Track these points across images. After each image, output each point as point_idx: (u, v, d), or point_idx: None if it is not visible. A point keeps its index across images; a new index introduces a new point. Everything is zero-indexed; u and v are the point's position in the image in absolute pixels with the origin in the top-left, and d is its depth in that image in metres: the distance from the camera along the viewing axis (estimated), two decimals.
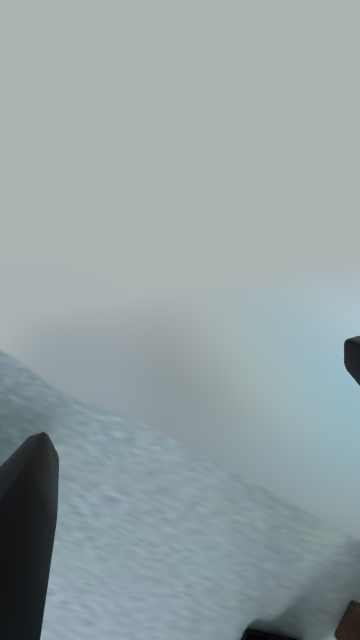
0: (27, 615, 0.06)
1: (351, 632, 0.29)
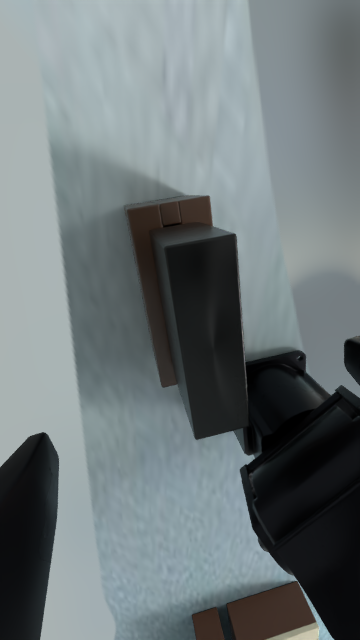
0: (27, 615, 0.06)
1: None
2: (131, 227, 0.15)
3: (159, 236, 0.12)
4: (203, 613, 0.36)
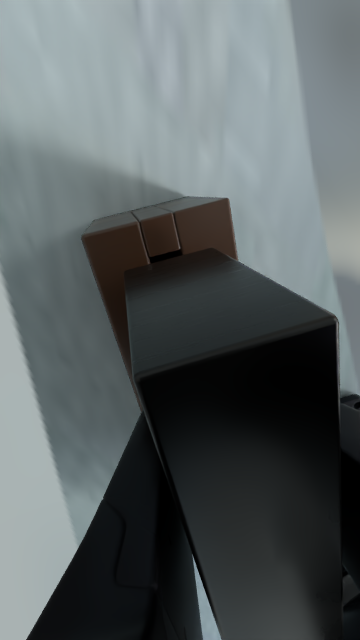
0: (189, 557, 0.06)
1: None
2: (93, 266, 0.08)
3: (134, 302, 0.05)
4: None
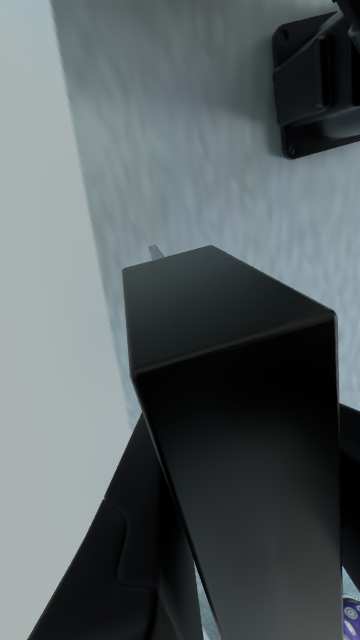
0: (189, 557, 0.06)
1: None
2: None
3: (132, 299, 0.05)
4: None
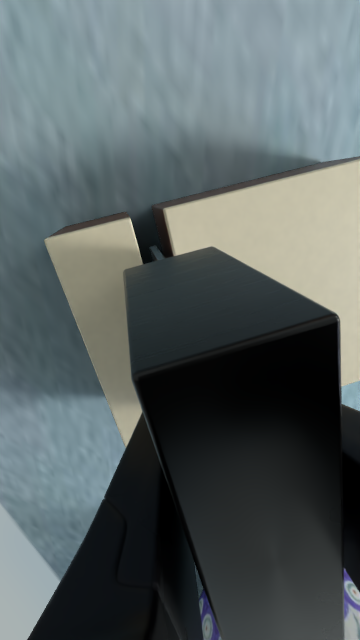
0: (189, 557, 0.06)
1: None
2: None
3: (133, 301, 0.05)
4: (92, 220, 0.14)
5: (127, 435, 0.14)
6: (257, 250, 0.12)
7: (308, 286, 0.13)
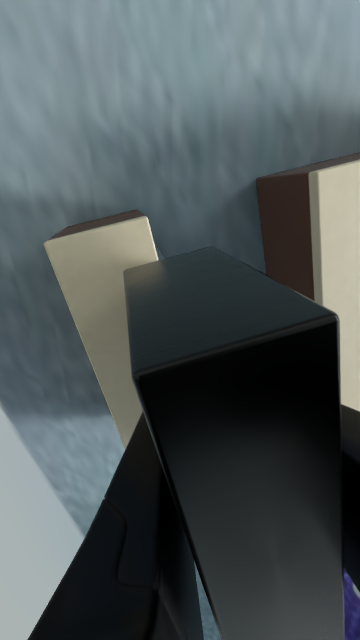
0: (189, 557, 0.06)
1: None
2: None
3: (133, 300, 0.05)
4: (98, 219, 0.13)
5: None
6: None
7: None
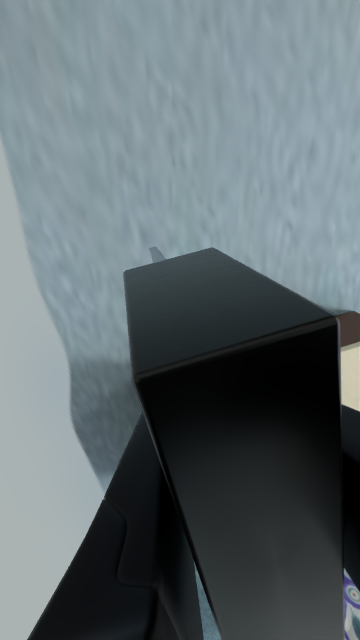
0: (189, 557, 0.06)
1: None
2: None
3: (134, 302, 0.05)
4: None
5: None
6: None
7: (348, 403, 0.22)
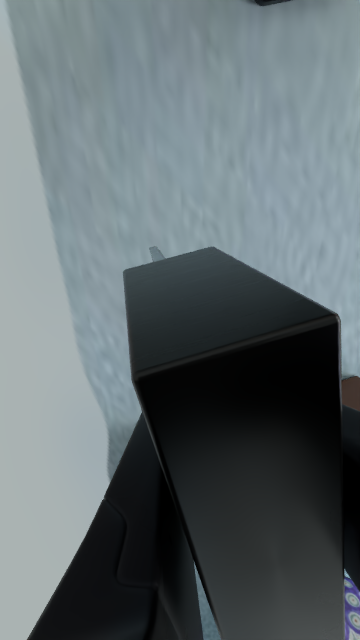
0: (189, 557, 0.06)
1: None
2: None
3: (133, 301, 0.05)
4: None
5: None
6: None
7: None
